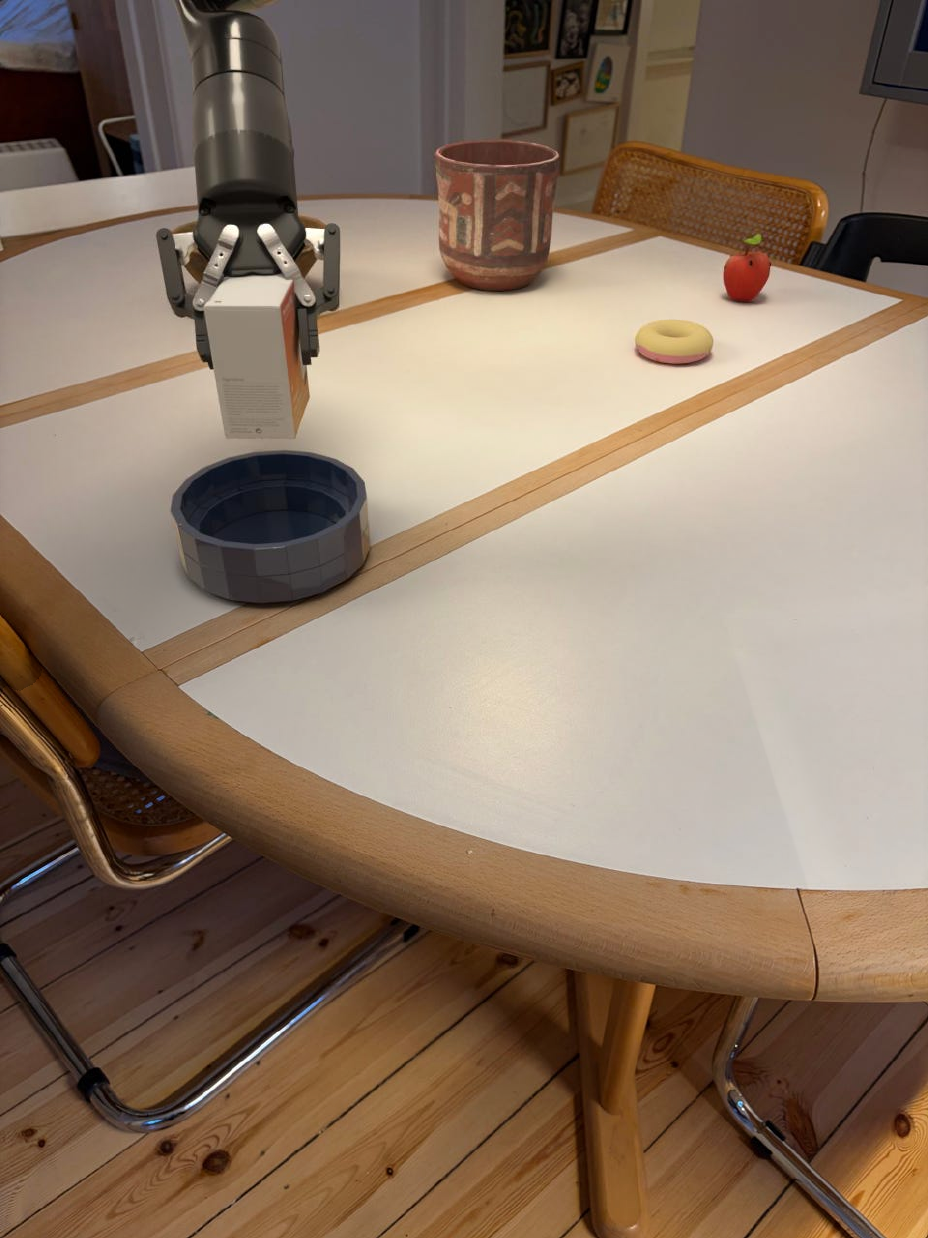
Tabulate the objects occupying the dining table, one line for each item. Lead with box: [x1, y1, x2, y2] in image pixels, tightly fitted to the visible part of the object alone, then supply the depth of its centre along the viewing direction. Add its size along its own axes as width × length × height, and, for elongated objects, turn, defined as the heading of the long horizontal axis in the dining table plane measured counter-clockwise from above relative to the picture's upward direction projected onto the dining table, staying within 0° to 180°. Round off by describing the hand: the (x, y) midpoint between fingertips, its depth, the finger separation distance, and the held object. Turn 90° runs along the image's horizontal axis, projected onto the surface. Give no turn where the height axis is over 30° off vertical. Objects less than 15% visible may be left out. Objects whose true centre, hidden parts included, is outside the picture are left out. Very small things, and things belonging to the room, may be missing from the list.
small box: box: [203, 274, 311, 440], centre depth 72 cm, size 8×6×10 cm
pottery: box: [433, 139, 561, 292], centre depth 139 cm, size 18×18×18 cm
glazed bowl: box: [169, 449, 371, 604], centre depth 83 cm, size 17×17×6 cm
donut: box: [634, 319, 714, 365], centre depth 121 cm, size 10×5×9 cm
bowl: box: [170, 214, 327, 286], centre depth 132 cm, size 22×23×10 cm
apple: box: [722, 233, 772, 303], centre depth 135 cm, size 8×7×10 cm
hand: (260, 362), depth 70 cm, fingers closed on small box, 6 cm apart
